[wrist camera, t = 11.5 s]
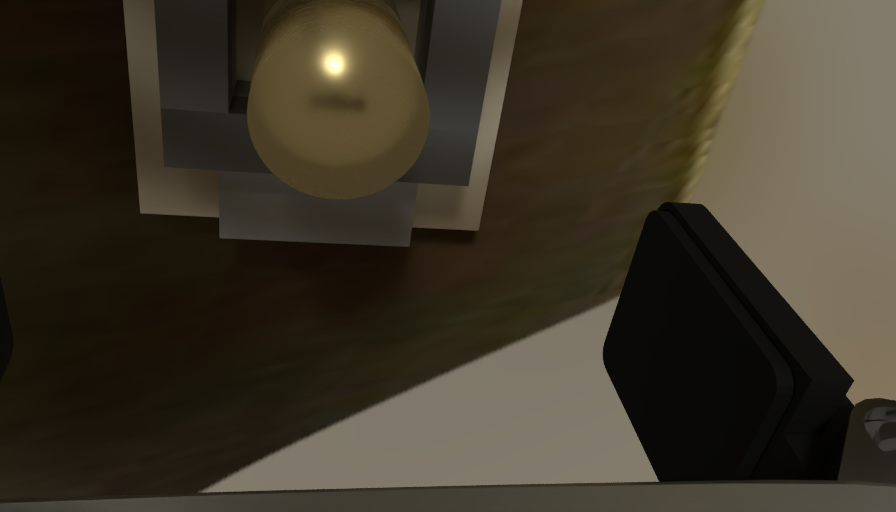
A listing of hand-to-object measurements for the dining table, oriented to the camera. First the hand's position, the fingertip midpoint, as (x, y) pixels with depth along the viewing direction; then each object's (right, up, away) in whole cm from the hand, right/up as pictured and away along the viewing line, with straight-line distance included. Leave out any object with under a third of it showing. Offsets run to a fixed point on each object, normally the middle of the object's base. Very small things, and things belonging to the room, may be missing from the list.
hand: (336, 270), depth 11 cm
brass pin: (-2, +9, +14) cm, 17 cm away
